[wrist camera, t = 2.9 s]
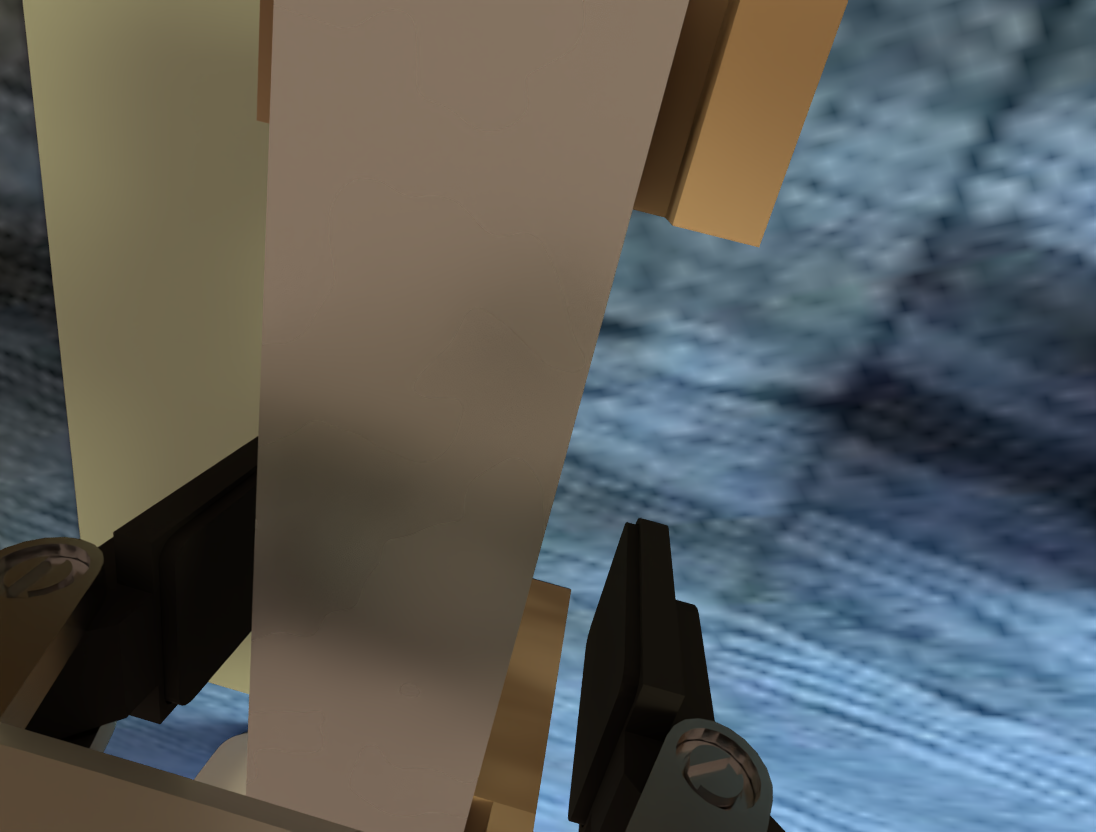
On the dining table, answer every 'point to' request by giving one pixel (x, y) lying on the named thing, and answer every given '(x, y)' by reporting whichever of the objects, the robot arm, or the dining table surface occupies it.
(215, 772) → the can
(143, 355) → the mat
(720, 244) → the dining table surface
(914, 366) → the dining table surface
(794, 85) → the post
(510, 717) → the post
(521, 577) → the rail
